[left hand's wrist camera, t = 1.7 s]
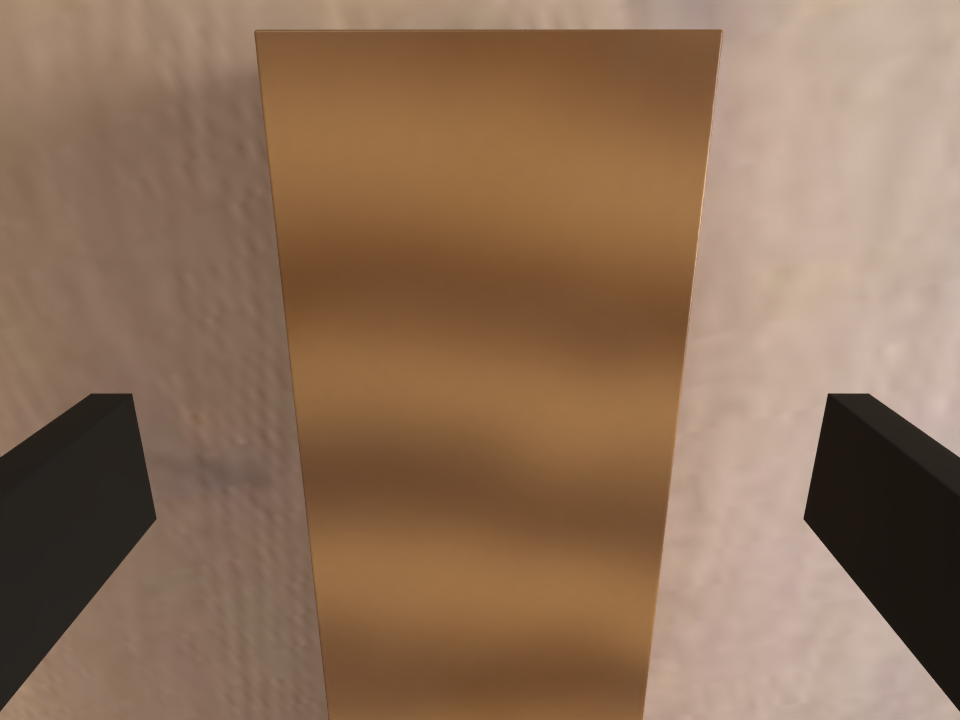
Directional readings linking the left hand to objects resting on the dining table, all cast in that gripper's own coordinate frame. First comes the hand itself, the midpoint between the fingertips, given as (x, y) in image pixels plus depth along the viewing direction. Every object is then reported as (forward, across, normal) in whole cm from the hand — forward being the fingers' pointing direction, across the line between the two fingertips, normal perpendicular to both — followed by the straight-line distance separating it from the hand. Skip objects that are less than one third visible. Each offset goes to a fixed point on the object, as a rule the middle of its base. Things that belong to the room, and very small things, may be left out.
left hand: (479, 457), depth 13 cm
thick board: (+10, 0, -20) cm, 23 cm away
